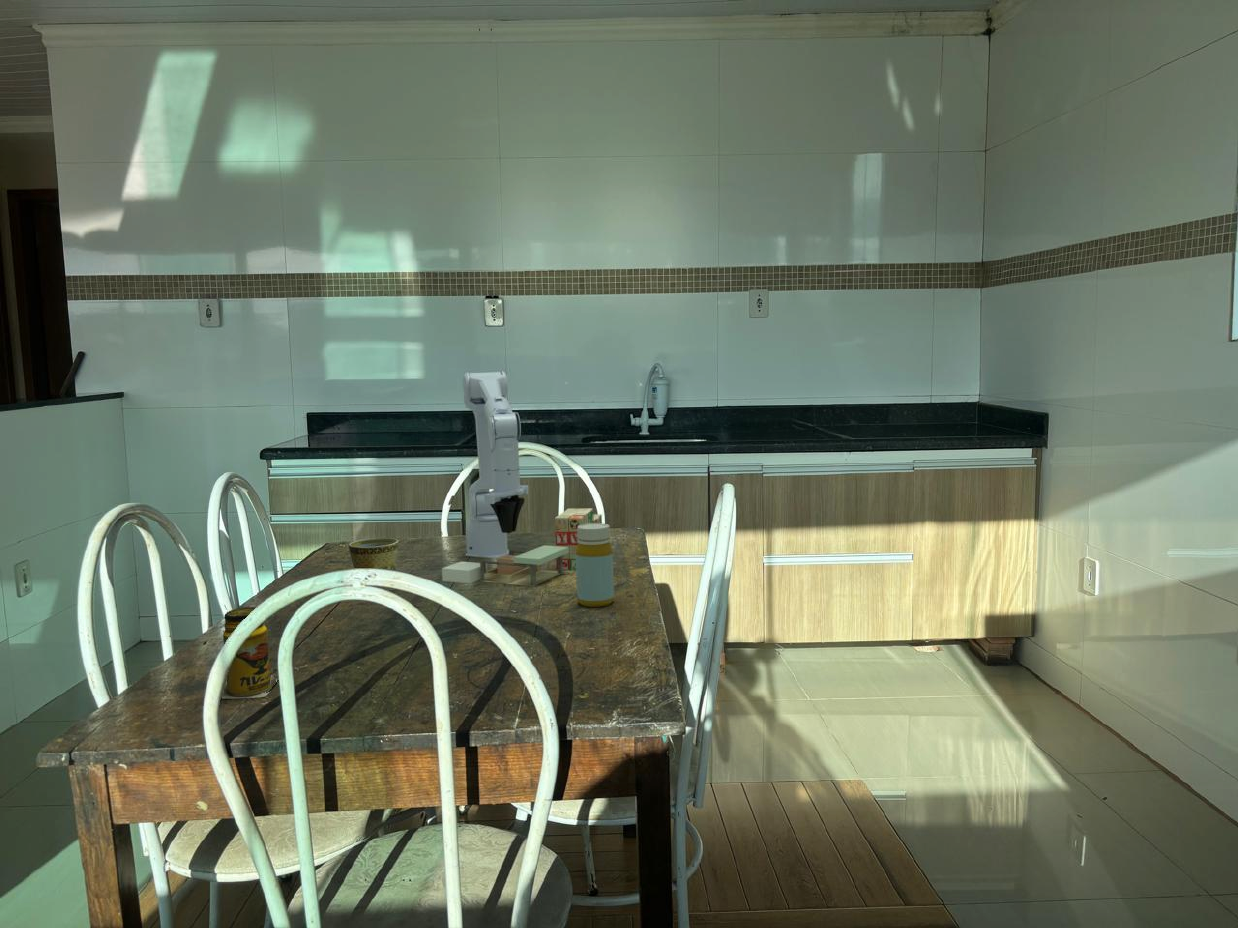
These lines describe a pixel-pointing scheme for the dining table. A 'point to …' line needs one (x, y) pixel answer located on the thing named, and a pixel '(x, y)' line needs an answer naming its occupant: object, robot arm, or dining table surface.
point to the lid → (541, 555)
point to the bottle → (594, 565)
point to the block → (506, 568)
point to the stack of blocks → (572, 532)
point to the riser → (462, 572)
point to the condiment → (247, 660)
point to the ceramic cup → (374, 553)
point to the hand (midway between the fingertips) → (508, 531)
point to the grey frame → (519, 572)
